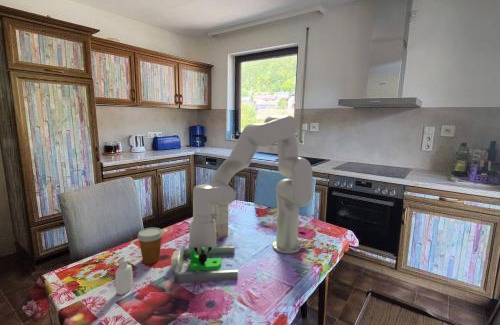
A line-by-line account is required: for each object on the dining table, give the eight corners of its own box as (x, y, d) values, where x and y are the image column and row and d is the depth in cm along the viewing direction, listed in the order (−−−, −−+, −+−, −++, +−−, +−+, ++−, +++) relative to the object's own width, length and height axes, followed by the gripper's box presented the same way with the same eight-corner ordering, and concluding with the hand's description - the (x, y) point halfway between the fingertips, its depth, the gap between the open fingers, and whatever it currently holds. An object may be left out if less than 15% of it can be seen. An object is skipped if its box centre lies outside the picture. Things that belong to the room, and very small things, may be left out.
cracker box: (228, 236, 130) (229, 195, 127) (217, 238, 127) (217, 196, 124) (218, 226, 142) (218, 188, 139) (208, 228, 139) (207, 189, 136)
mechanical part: (189, 272, 99) (189, 252, 98) (191, 263, 105) (190, 245, 104) (221, 270, 101) (221, 251, 100) (221, 262, 107) (221, 244, 106)
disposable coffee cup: (157, 251, 113) (156, 225, 112) (167, 260, 107) (166, 232, 105) (134, 259, 107) (133, 231, 105) (144, 268, 100) (143, 239, 98)
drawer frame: (234, 252, 114) (234, 241, 113) (237, 279, 94) (237, 266, 94) (176, 255, 111) (176, 243, 110) (167, 283, 91) (167, 269, 91)
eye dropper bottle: (113, 290, 87) (111, 256, 85) (131, 283, 91) (129, 251, 89) (118, 296, 84) (115, 262, 82) (136, 289, 88) (134, 256, 86)
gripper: (222, 213, 104) (222, 257, 107) (184, 214, 102) (184, 258, 105) (223, 220, 96) (222, 267, 99) (181, 221, 95) (181, 268, 97)
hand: (202, 262), depth 102 cm, fingers closed
